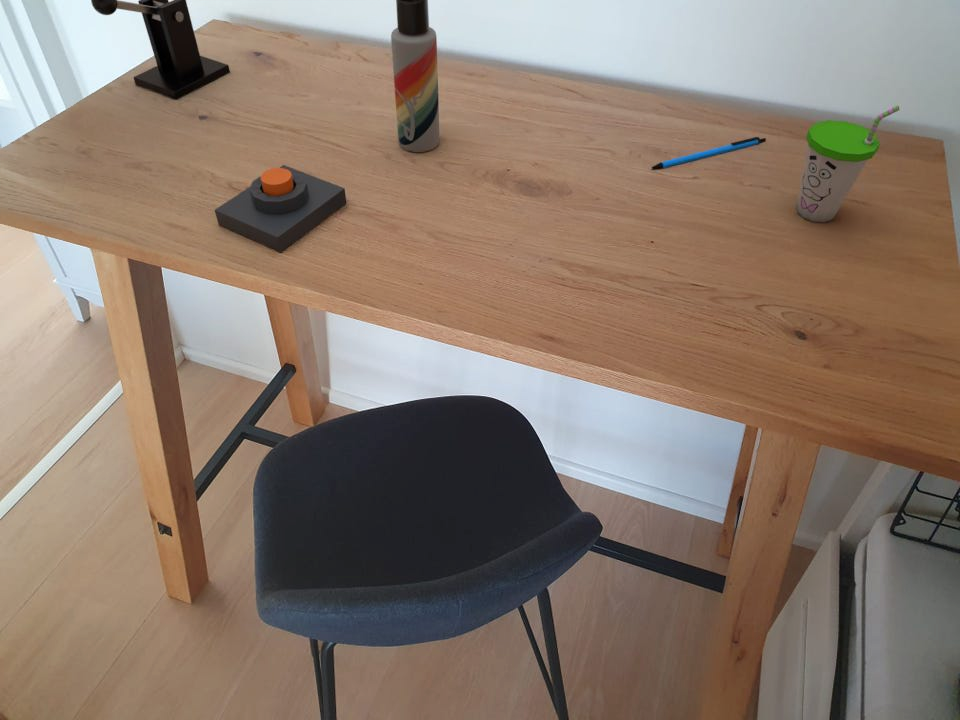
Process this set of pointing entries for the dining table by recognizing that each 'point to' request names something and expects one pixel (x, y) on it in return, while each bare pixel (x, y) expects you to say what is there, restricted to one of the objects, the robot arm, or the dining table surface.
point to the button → (277, 182)
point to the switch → (126, 7)
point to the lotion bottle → (415, 77)
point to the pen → (709, 153)
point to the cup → (834, 165)
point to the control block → (281, 210)
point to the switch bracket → (176, 53)
